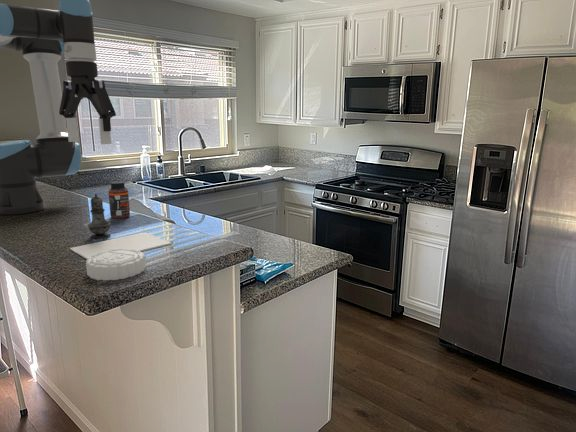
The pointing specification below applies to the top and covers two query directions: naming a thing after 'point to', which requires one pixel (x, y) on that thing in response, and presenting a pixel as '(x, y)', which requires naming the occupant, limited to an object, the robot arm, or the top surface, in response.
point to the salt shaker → (98, 220)
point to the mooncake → (115, 264)
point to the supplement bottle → (119, 200)
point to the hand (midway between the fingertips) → (89, 142)
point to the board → (121, 244)
